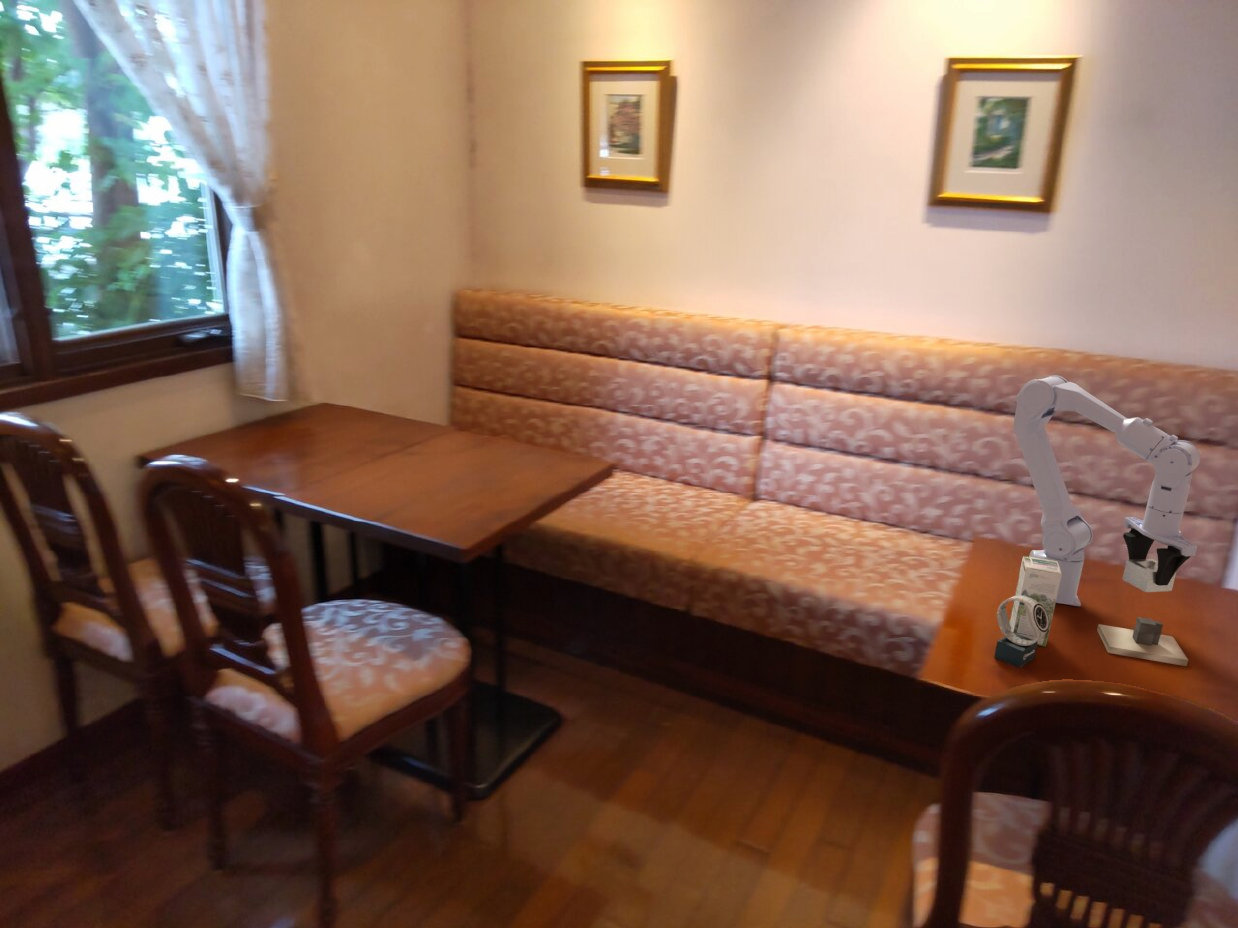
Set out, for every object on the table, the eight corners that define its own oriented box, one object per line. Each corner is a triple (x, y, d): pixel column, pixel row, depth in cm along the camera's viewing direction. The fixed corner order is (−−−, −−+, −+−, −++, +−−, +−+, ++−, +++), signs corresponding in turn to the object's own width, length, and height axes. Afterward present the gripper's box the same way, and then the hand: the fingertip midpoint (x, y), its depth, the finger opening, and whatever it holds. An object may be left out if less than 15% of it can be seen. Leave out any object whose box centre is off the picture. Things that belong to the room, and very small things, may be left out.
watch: (1030, 672, 140) (1043, 612, 137) (984, 653, 146) (995, 594, 143) (1046, 662, 144) (1058, 603, 140) (999, 643, 149) (1011, 586, 146)
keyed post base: (1108, 652, 148) (1114, 625, 147) (1097, 630, 156) (1103, 604, 155) (1186, 666, 145) (1193, 638, 143) (1171, 642, 153) (1177, 616, 151)
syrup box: (1042, 633, 154) (1057, 559, 150) (1046, 648, 149) (1062, 571, 144) (1008, 627, 156) (1022, 553, 152) (1011, 641, 150) (1026, 565, 146)
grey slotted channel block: (1145, 592, 154) (1150, 571, 153) (1122, 579, 160) (1126, 559, 158) (1171, 590, 155) (1176, 570, 154) (1147, 578, 161) (1152, 558, 160)
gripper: (1218, 521, 147) (1199, 593, 151) (1152, 494, 161) (1136, 561, 165) (1184, 522, 146) (1165, 595, 150) (1120, 495, 159) (1105, 562, 163)
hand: (1148, 577), depth 157 cm, fingers closed on grey slotted channel block, 6 cm apart
